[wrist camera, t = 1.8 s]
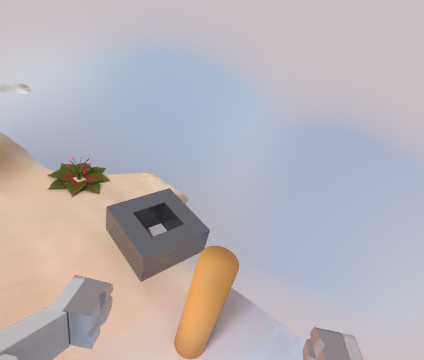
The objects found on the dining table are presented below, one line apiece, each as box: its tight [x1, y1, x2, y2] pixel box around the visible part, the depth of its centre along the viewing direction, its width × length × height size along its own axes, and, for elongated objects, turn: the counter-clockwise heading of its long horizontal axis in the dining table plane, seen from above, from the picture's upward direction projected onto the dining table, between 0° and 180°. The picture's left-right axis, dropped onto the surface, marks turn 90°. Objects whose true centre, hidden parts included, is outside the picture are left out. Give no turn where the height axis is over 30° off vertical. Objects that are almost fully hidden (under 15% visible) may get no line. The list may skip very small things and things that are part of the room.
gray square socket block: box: [106, 188, 210, 281], centre depth 48 cm, size 12×12×5 cm
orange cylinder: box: [174, 246, 239, 359], centre depth 32 cm, size 4×4×16 cm
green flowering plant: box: [48, 159, 110, 196], centre depth 57 cm, size 12×12×5 cm
